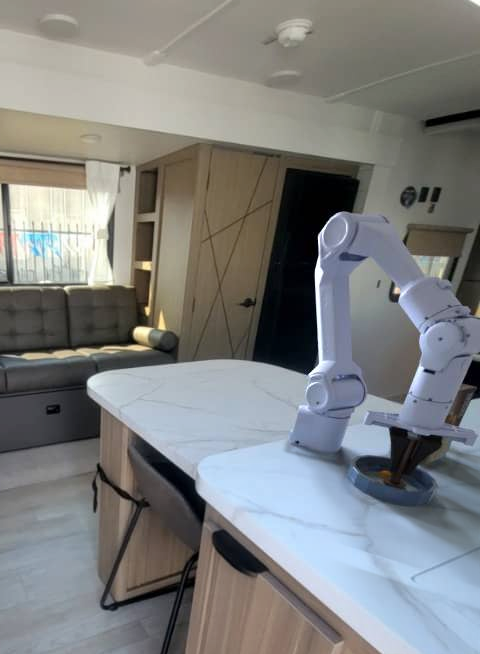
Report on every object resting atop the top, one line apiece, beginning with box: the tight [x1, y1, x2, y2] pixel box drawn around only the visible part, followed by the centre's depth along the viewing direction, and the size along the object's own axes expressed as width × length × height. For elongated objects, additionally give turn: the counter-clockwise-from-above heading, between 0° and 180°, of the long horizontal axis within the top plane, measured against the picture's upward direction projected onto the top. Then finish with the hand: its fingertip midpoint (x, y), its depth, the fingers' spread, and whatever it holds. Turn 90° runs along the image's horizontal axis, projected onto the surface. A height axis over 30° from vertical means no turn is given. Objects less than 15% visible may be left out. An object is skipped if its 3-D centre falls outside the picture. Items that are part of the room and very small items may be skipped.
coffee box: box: [387, 383, 478, 466], centre depth 78 cm, size 9×6×16 cm
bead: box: [377, 470, 391, 479], centre depth 73 cm, size 2×2×2 cm
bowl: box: [346, 454, 439, 508], centre depth 70 cm, size 12×12×4 cm
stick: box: [382, 436, 419, 490], centre depth 68 cm, size 3×3×9 cm
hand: (398, 470), depth 69 cm, fingers closed on stick
